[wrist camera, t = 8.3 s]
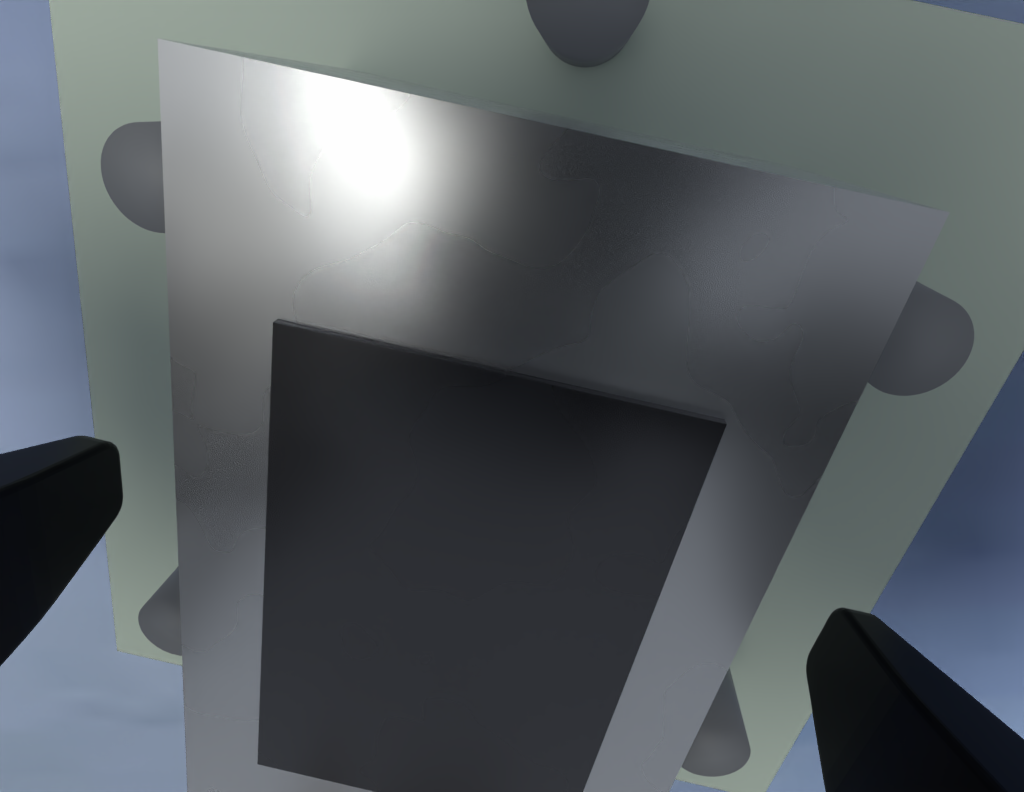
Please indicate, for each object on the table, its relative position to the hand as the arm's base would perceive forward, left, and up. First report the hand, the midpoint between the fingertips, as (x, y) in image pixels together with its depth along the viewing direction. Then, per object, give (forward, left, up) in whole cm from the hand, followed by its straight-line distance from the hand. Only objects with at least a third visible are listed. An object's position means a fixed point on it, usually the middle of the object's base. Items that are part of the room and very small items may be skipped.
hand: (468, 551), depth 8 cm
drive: (0, 0, -3) cm, 3 cm away
